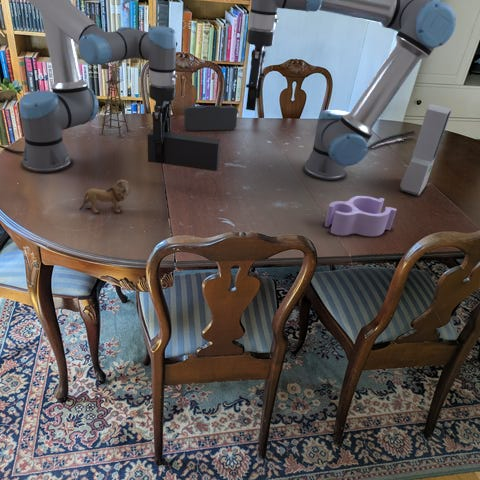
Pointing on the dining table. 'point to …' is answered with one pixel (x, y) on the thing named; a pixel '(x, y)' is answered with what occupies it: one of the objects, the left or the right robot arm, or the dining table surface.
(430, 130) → the electronic device
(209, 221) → the dining table surface
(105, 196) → the lion figurine
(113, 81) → the miniature windmill
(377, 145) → the sword
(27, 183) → the dining table surface
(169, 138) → the bar
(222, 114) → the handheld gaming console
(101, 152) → the dining table surface
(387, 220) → the clip
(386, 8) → the right robot arm
